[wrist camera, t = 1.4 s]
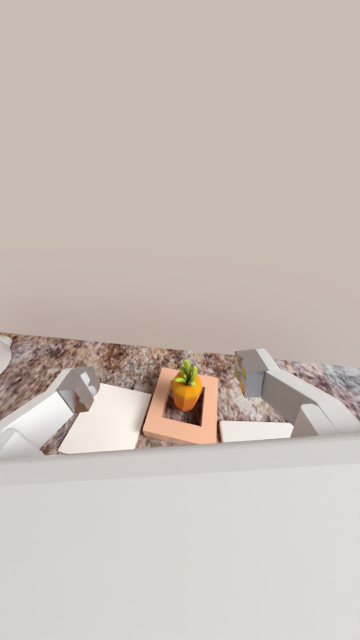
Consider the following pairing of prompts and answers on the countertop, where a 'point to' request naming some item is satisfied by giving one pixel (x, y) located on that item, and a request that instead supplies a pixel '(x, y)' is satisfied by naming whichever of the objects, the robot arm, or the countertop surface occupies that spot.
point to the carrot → (186, 387)
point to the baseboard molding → (253, 430)
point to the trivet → (108, 422)
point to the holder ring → (179, 430)
